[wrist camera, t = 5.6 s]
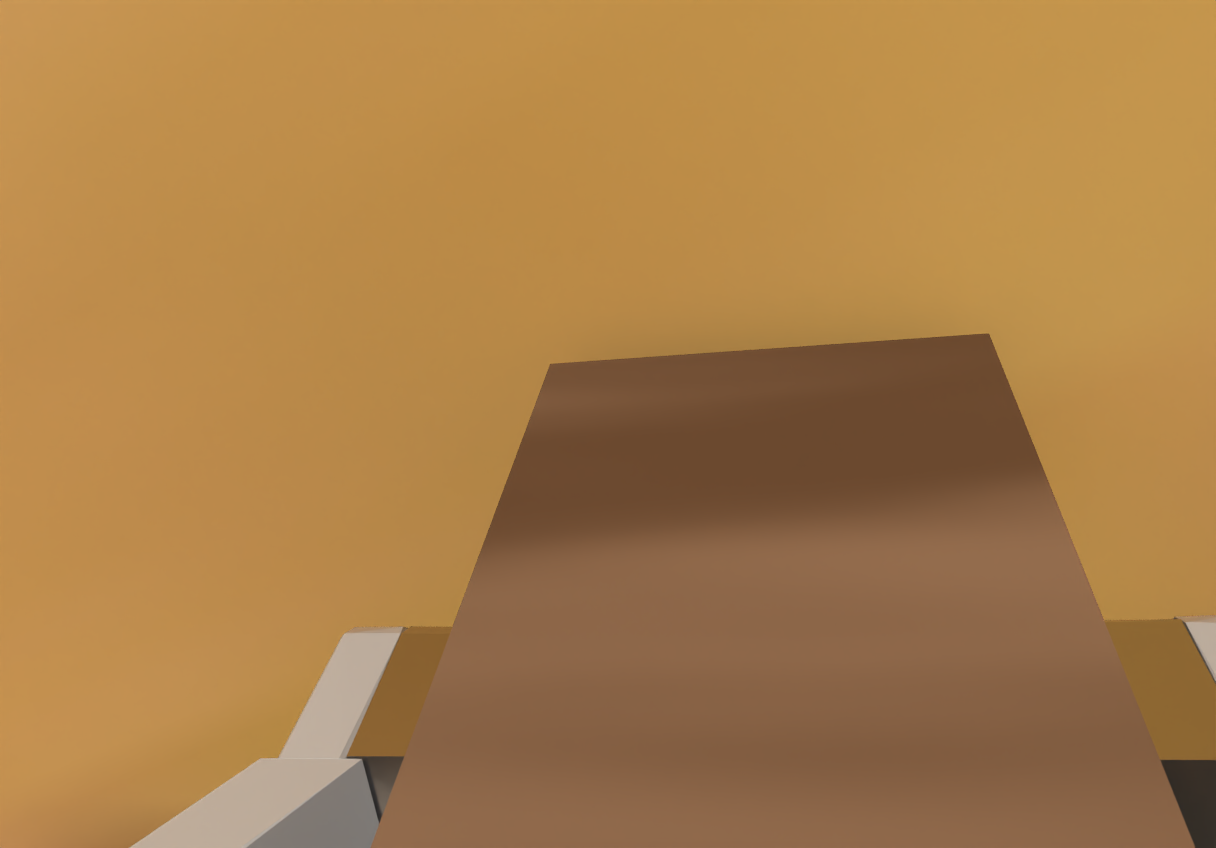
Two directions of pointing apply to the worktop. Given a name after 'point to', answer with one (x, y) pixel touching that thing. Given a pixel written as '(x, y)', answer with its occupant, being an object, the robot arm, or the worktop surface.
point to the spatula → (781, 623)
